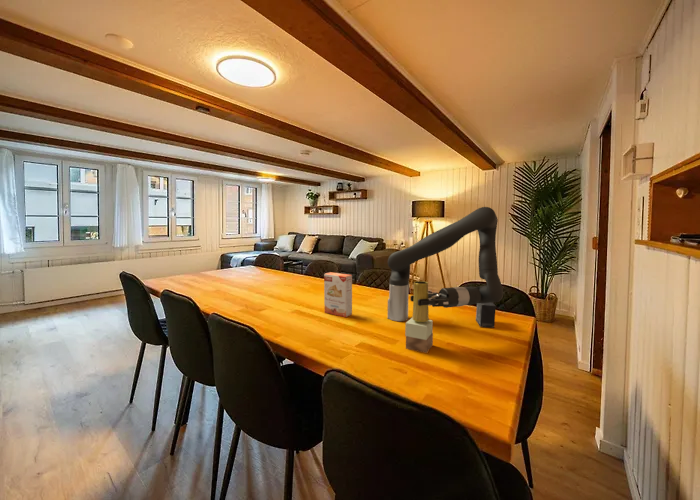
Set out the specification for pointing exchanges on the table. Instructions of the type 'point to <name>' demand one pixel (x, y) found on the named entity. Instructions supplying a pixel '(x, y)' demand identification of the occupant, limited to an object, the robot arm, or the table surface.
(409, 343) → the tower base block
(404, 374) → the table surface
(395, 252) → the robot arm
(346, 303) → the cracker box
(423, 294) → the vase
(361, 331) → the table surface
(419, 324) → the tower top block
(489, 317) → the small box
